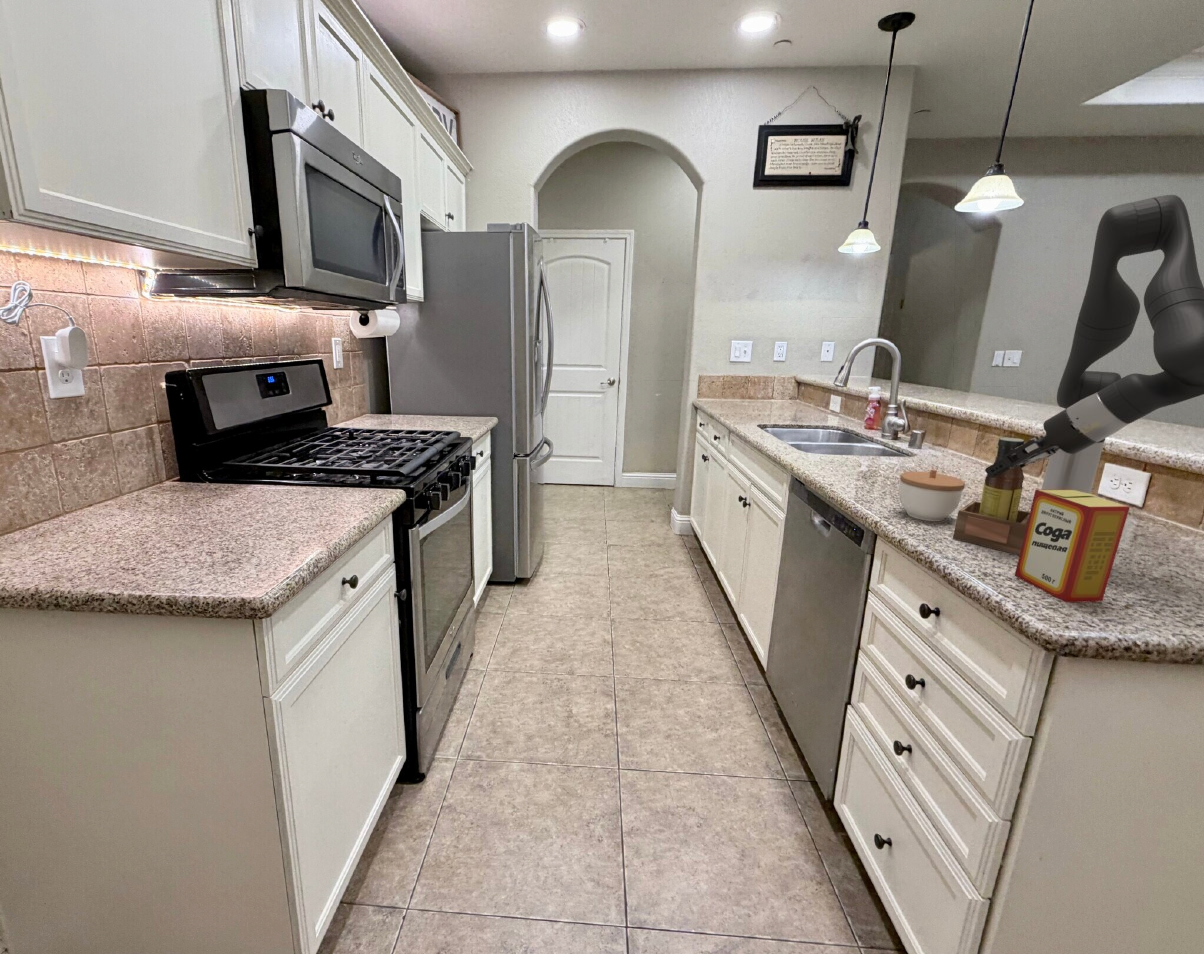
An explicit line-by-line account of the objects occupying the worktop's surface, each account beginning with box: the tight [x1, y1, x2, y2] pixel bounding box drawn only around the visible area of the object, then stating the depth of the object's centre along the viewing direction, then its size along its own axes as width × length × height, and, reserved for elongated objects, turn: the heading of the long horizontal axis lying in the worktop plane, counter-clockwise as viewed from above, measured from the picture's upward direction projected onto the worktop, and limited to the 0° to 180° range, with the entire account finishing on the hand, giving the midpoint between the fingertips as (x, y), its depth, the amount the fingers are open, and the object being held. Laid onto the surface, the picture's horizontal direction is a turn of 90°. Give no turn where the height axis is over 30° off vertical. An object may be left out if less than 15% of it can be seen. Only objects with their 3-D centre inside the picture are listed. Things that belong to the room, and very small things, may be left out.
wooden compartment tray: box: [952, 500, 1030, 556], centre depth 106 cm, size 11×21×6 cm, turn 43°
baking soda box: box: [1014, 489, 1131, 603], centre depth 88 cm, size 10×6×16 cm
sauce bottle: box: [979, 436, 1025, 522], centre depth 108 cm, size 7×6×20 cm
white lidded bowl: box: [898, 468, 966, 522], centre depth 123 cm, size 13×13×11 cm
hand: (998, 471), depth 108 cm, fingers open, 8 cm apart
